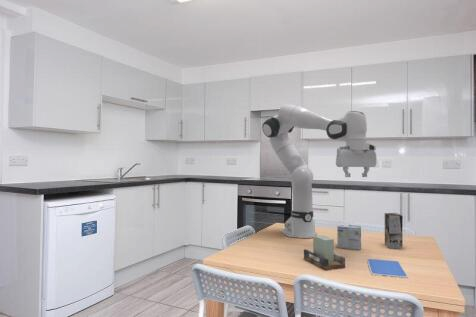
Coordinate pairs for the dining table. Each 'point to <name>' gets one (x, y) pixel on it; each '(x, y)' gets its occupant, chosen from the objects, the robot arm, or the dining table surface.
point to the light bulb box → (349, 236)
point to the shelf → (325, 260)
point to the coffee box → (393, 230)
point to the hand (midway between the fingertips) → (356, 177)
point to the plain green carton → (324, 247)
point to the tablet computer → (386, 268)
